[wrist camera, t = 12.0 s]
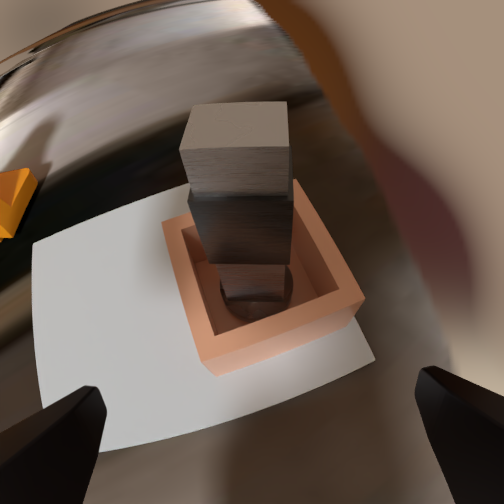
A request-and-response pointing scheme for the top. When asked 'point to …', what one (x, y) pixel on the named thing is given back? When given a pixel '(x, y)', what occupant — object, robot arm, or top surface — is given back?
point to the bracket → (14, 199)
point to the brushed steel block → (243, 201)
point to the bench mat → (152, 333)
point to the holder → (276, 326)
